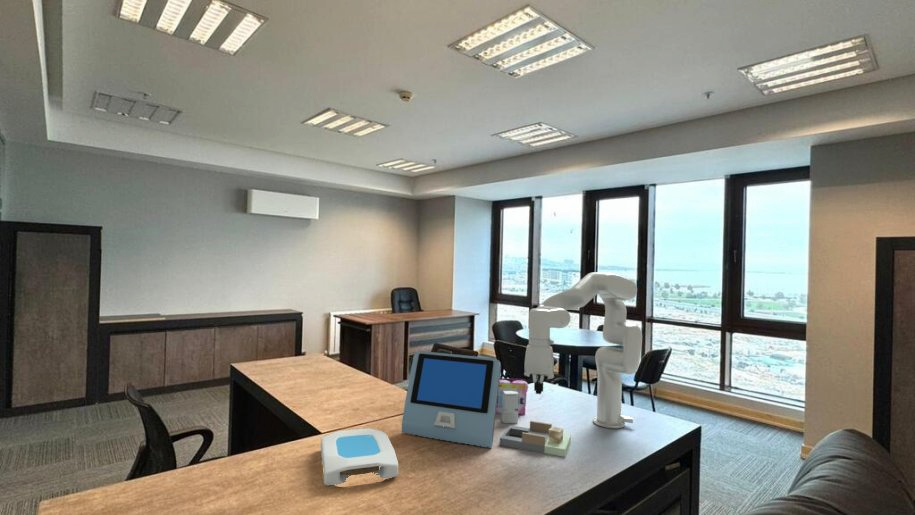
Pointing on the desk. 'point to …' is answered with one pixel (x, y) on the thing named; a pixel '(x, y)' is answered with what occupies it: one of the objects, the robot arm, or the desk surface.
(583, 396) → the desk surface
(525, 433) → the board
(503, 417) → the skincare box
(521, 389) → the gum box
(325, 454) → the white step stool
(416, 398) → the touchscreen device
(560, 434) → the birch block
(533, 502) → the desk surface
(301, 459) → the desk surface
